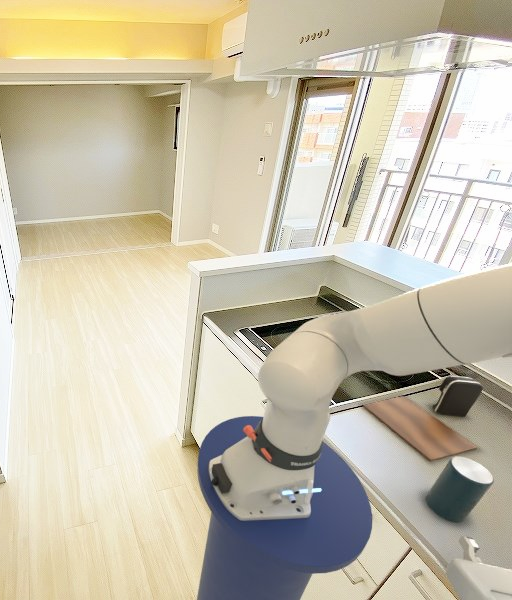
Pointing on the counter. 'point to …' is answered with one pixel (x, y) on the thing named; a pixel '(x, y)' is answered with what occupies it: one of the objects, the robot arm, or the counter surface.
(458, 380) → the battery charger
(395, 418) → the wooden board
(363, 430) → the counter surface
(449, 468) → the can
